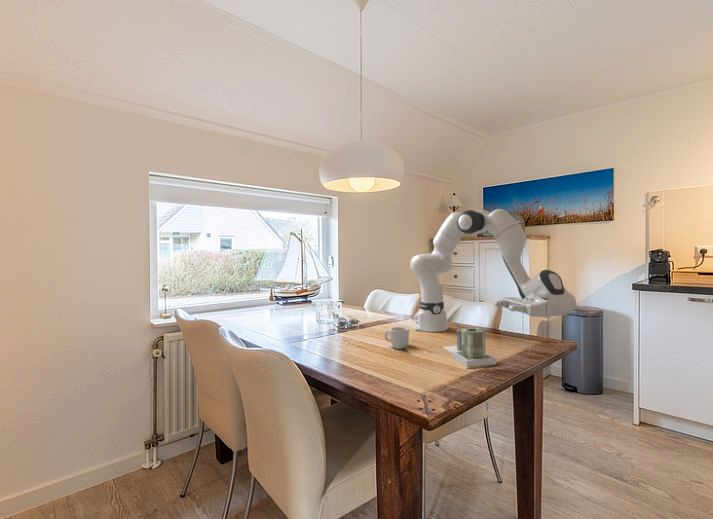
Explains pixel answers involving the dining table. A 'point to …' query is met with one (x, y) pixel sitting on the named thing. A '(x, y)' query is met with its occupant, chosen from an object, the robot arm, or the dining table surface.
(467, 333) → the sleeve
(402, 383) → the dining table surface
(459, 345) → the stake board
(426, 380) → the dining table surface
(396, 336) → the cup
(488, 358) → the tray
